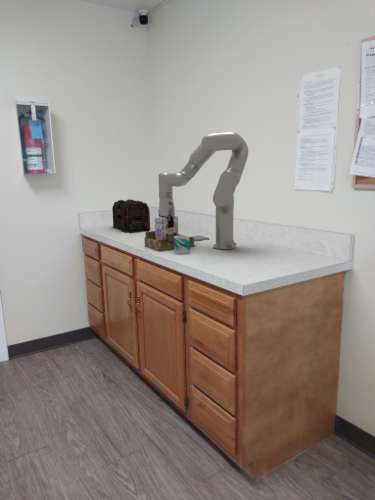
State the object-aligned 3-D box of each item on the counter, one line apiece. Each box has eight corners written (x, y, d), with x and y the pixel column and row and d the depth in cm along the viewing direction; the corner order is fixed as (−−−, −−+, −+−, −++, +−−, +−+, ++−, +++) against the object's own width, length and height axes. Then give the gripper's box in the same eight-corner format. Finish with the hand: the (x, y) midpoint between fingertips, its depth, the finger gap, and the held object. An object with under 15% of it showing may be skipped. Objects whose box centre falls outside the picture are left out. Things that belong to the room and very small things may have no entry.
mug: (177, 254, 201) (177, 238, 199) (169, 250, 212) (168, 235, 210) (192, 253, 204) (192, 237, 202) (183, 249, 215) (182, 233, 213)
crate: (111, 227, 301) (110, 200, 297) (135, 225, 310) (133, 198, 306) (127, 233, 271) (125, 203, 267) (152, 231, 280) (151, 201, 275)
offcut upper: (182, 242, 217) (182, 235, 217) (169, 243, 214) (169, 237, 213) (180, 241, 220) (180, 234, 219) (167, 242, 216) (167, 236, 215)
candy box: (163, 248, 218) (162, 218, 214) (155, 247, 221) (154, 217, 218) (179, 244, 228) (178, 215, 225) (171, 243, 232) (170, 215, 228)
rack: (194, 246, 221) (194, 232, 219) (159, 251, 210) (159, 236, 208) (177, 242, 236) (177, 228, 234) (144, 246, 225) (144, 232, 223)
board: (209, 239, 242) (209, 237, 242) (182, 242, 233) (182, 241, 232) (199, 237, 252) (199, 235, 251) (173, 240, 242) (173, 238, 242)
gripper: (179, 196, 214) (180, 227, 217) (164, 194, 228) (165, 224, 232) (167, 196, 210) (168, 229, 213) (152, 195, 224) (153, 225, 228)
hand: (166, 226), depth 222 cm, fingers open, 9 cm apart
